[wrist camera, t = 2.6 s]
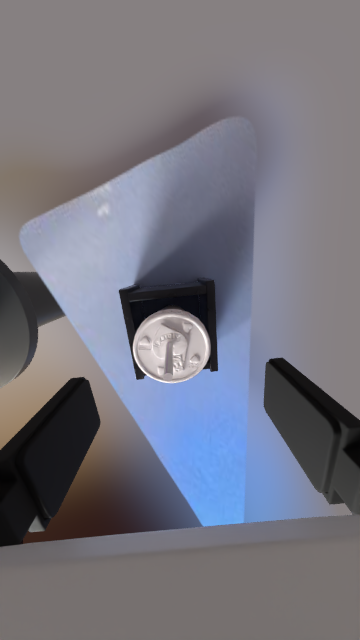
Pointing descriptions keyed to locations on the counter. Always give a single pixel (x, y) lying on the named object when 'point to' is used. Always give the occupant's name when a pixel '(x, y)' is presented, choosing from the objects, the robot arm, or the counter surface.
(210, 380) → the counter surface
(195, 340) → the smoothie
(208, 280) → the bottle stand
